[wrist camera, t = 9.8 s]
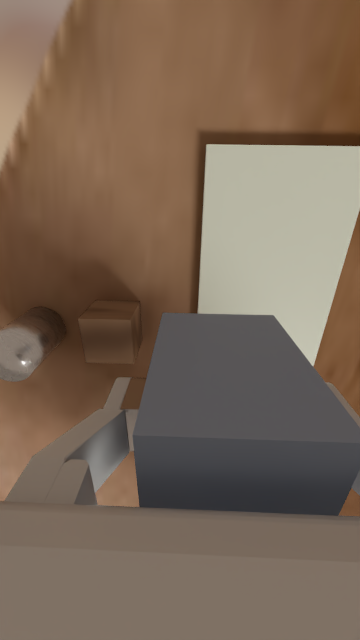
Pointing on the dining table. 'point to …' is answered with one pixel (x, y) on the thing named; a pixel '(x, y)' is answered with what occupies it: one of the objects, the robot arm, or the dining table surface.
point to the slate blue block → (240, 422)
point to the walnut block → (111, 332)
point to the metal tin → (29, 342)
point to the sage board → (277, 233)
